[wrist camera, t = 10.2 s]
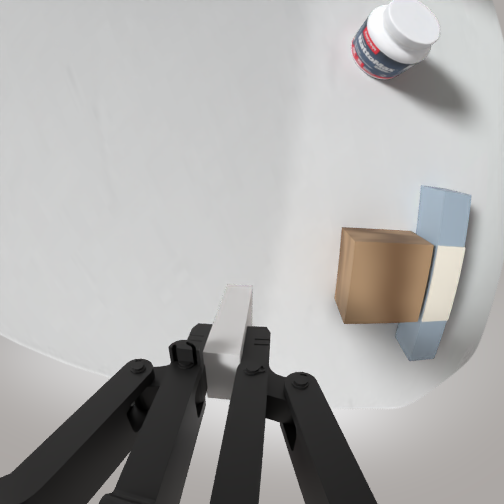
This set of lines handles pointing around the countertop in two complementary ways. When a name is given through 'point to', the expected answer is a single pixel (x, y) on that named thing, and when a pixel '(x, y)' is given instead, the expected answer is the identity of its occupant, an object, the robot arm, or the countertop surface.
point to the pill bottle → (395, 38)
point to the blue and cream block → (437, 268)
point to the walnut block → (381, 275)
